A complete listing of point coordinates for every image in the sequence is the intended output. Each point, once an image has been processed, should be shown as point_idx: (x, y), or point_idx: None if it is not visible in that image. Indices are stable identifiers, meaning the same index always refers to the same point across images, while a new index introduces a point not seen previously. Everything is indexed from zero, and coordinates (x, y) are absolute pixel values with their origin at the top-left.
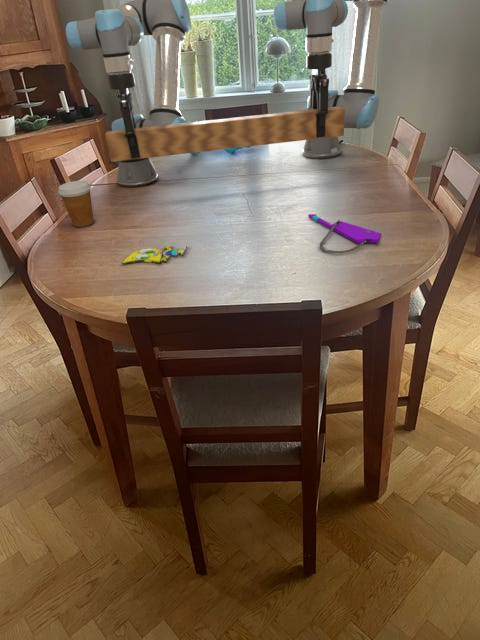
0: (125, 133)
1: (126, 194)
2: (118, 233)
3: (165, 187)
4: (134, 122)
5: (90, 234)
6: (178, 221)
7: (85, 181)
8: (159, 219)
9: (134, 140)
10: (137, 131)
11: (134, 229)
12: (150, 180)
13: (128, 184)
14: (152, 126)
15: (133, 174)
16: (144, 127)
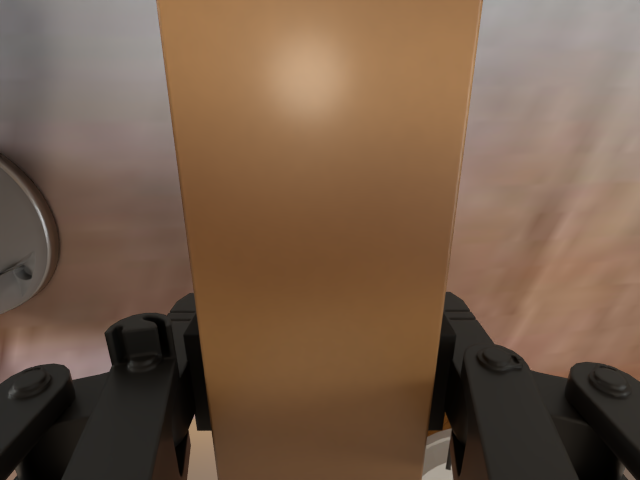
0: (419, 470)
1: (150, 266)
2: (573, 268)
3: (83, 94)
4: (147, 452)
5: (531, 349)
6: (580, 38)
7: (438, 467)
8: (512, 123)
9: (482, 329)
10: (437, 336)
11: (567, 217)
12: (5, 169)
13: (49, 266)
14: (172, 70)
15: (7, 254)
16: (207, 236)
